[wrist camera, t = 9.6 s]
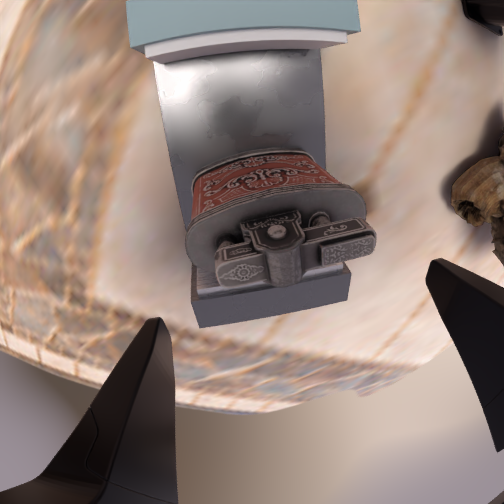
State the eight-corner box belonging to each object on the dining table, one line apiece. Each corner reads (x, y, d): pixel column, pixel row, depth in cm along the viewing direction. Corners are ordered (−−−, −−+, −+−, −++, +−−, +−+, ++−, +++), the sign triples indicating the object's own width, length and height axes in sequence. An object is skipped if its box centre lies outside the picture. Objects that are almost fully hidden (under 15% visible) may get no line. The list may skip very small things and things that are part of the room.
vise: (299, -51, 10) (333, -88, 5) (317, 265, 25) (344, 315, 19) (146, -40, 9) (126, -79, 4) (202, 284, 24) (204, 342, 19)
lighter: (199, 212, 19) (198, 325, 11) (186, 165, 17) (167, 254, 9) (314, 187, 19) (391, 275, 11) (309, 140, 17) (400, 202, 9)
